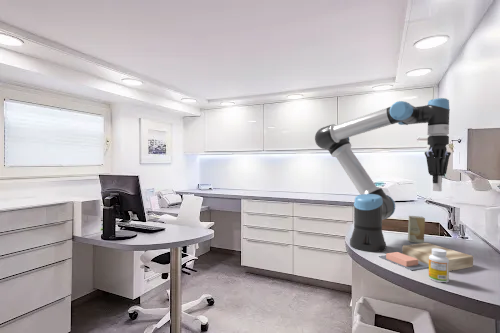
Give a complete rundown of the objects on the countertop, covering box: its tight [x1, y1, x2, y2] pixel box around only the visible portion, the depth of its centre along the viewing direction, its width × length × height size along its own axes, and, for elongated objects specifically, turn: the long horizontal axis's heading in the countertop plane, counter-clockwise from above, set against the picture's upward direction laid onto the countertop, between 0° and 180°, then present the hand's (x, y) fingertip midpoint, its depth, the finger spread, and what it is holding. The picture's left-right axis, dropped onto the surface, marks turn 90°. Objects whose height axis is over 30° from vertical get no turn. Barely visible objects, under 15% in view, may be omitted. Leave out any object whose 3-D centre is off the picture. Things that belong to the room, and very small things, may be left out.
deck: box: [401, 242, 474, 272], centre depth 107 cm, size 18×14×4 cm
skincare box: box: [407, 215, 426, 244], centre depth 133 cm, size 6×4×12 cm
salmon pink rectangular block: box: [385, 251, 418, 267], centre depth 104 cm, size 9×6×2 cm, turn 21°
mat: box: [378, 254, 429, 271], centre depth 105 cm, size 15×10×1 cm
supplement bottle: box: [428, 248, 450, 283], centre depth 89 cm, size 5×5×10 cm
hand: (437, 190), depth 116 cm, fingers closed
